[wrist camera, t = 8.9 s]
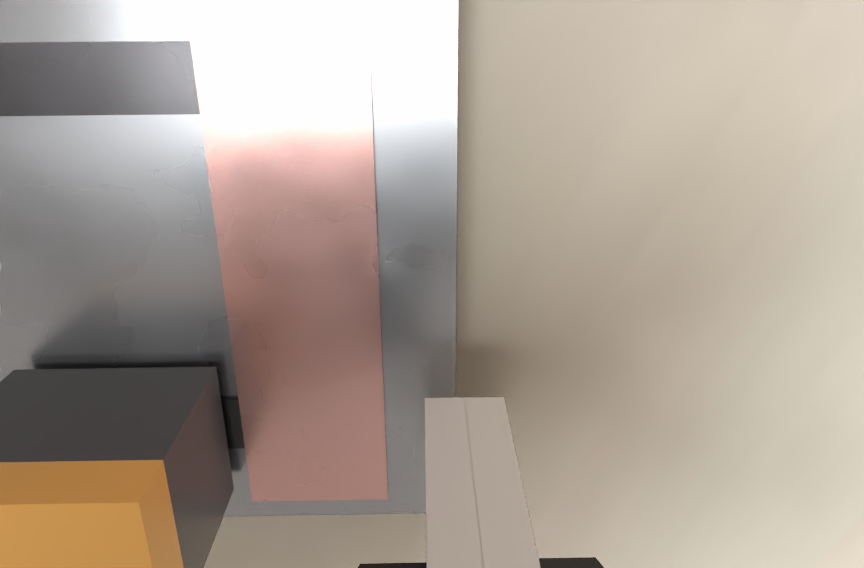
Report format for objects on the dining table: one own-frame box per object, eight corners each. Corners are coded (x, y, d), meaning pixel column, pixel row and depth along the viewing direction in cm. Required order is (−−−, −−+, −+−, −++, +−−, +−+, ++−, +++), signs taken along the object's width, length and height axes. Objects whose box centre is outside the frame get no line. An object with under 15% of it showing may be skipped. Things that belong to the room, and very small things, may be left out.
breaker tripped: (47, 491, 15) (-80, 656, 11) (14, 369, 13) (-141, 507, 10) (234, 488, 15) (170, 652, 11) (216, 366, 13) (138, 503, 10)
